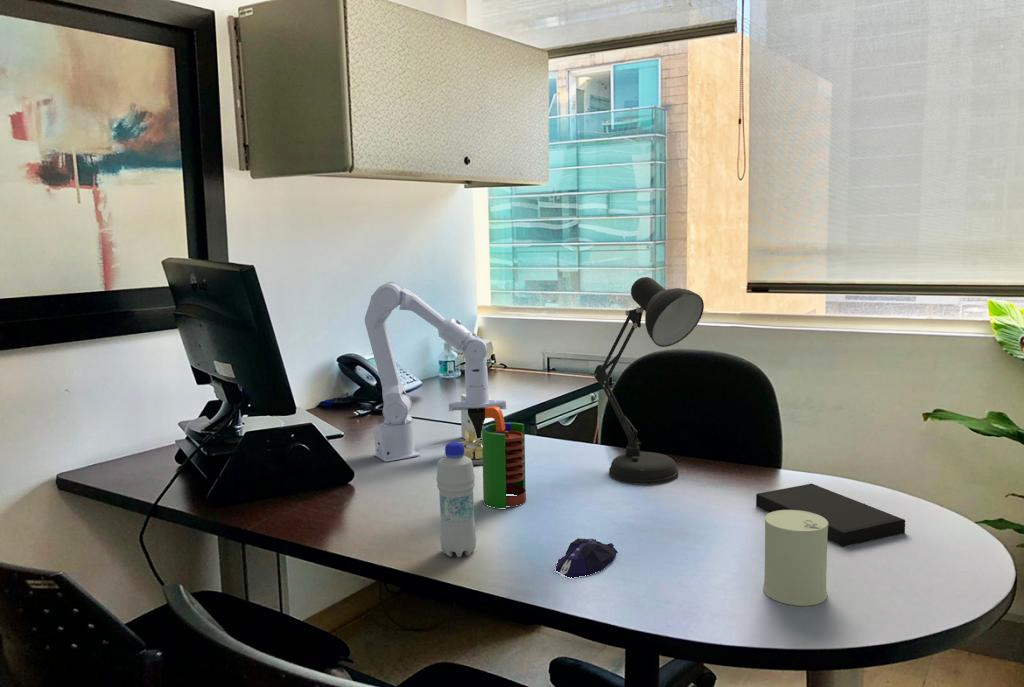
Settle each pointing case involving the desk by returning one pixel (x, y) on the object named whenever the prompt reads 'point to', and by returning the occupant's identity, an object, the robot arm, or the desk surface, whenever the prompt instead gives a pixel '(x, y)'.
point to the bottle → (456, 501)
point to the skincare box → (466, 420)
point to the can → (795, 557)
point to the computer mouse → (586, 558)
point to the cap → (474, 461)
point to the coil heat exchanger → (503, 461)
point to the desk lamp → (666, 326)
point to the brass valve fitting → (471, 438)
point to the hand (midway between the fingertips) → (478, 437)
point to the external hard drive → (835, 513)
